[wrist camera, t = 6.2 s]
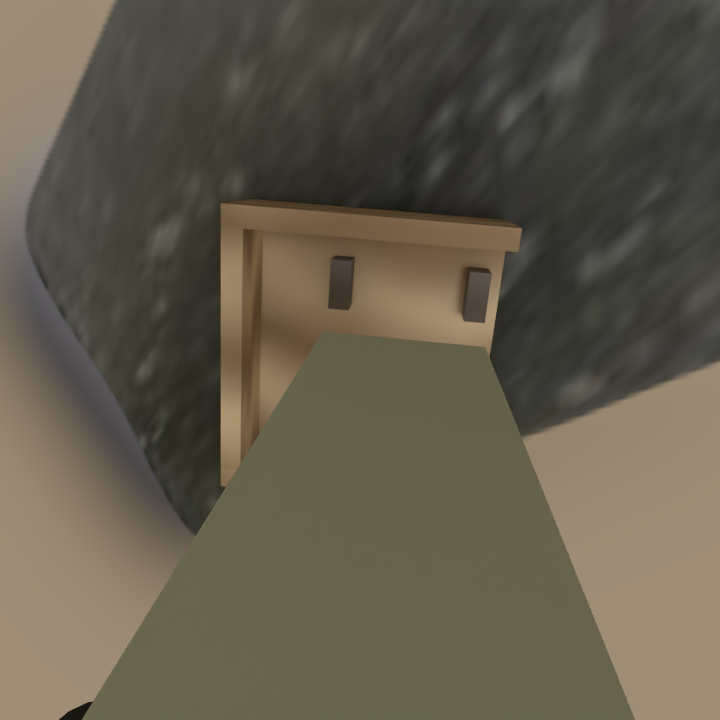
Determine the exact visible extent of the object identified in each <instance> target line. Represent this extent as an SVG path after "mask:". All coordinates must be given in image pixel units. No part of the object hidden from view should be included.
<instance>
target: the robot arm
mask: <svg viewBox="0 0 720 720" xmlns="http://www.w3.org/2000/svg"><path fill="white" fill-rule="evenodd" d="M92 703H93V702H88V703H86V704H84V705H82V706H79V707H77V708H75V709H73V710H71V711H69V712H68V713H66V714H65V715H64V716H63V717H62V718H60V719H59V720H82V719H83V717H84V715H85V714H86V712H87V711H88V709H89V707H90V706H91V704H92Z"/></svg>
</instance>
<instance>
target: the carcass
mask: <svg viewBox="0 0 720 720" xmlns="http://www.w3.org/2000/svg"><path fill="white" fill-rule="evenodd" d="M521 233H522V228H521V227H519V226H517V225H515V224H513V223H511V222H509V221H507V220H502V219H490V218H477V217H465V216H453V215H441V214H429V213H416V212H404V211H392V210H380V209H367V208H355V207H343V206H331V205H319V204H306V203H294V202H282V201H270V200H257V199H249V200H242V201H234V202H227V203H221V486H225V487H227V485H228V483H229V482H230V480H231V479H232V477H233V475H234V474H235V472H236V470H237V469H238V467H239V466H240V464H241V462H242V461H243V459H244V458H245V456H246V454H247V453H248V451H249V450H250V448H251V446H252V445H253V443H254V441H255V440H256V438H257V437H258V435H259V433H260V432H261V430H262V429H263V427H264V425H265V424H266V422H267V421H268V419H269V417H270V416H271V414H272V412H273V411H274V409H275V408H276V406H277V404H278V403H279V401H280V400H281V398H282V396H283V395H284V393H285V391H286V390H287V388H288V387H289V385H290V383H291V382H292V380H293V379H294V377H295V375H296V374H297V372H298V371H299V369H300V367H301V366H302V364H303V362H304V361H305V359H306V358H307V356H308V354H309V353H310V351H311V350H312V348H313V346H314V345H315V343H316V342H317V340H318V338H319V337H320V335H321V333H322V332H323V331H324V332H334V333H345V334H355V335H365V336H376V337H386V338H396V339H407V340H417V341H427V342H438V343H448V344H458V345H469V346H479V347H485V348H486V351H487V353H488V356H489V358H490V351H491V344H492V338H493V331H494V324H495V318H496V311H497V304H498V298H499V291H500V284H501V277H502V271H503V264H504V257H505V251H510V252H519V245H520V239H521Z"/></svg>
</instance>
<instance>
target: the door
mask: <svg viewBox="0 0 720 720" xmlns="http://www.w3.org/2000/svg"><path fill="white" fill-rule="evenodd" d="M82 720H635V719H634V716H633V714H632V711H631V709H630V706H629V704H628V701H627V699H626V696H625V694H624V691H623V689H622V686H621V684H620V682H619V679H618V676H617V674H616V671H615V669H614V667H613V664H612V662H611V659H610V657H609V654H608V652H607V649H606V647H605V644H604V642H603V639H602V637H601V634H600V632H599V629H598V627H597V624H596V622H595V619H594V617H593V614H592V612H591V609H590V607H589V605H588V602H587V599H586V597H585V594H584V592H583V589H582V587H581V584H580V582H579V580H578V577H577V575H576V573H575V570H574V567H573V565H572V562H571V560H570V557H569V555H568V552H567V550H566V547H565V545H564V542H563V540H562V537H561V535H560V533H559V530H558V527H557V525H556V522H555V520H554V517H553V515H552V513H551V510H550V507H549V505H548V502H547V500H546V498H545V495H544V492H543V490H542V488H541V485H540V483H539V480H538V478H537V475H536V473H535V470H534V468H533V465H532V463H531V460H530V458H529V455H528V453H527V450H526V448H525V445H524V443H523V440H522V438H521V435H520V433H519V430H518V428H517V425H516V423H515V420H514V418H513V415H512V413H511V410H510V408H509V405H508V403H507V401H506V398H505V396H504V393H503V391H502V388H501V386H500V383H499V381H498V378H497V376H496V373H495V371H494V368H493V366H492V363H491V361H490V358H489V356H488V353H487V351H486V348H485V347H479V346H469V345H458V344H448V343H438V342H427V341H417V340H407V339H396V338H386V337H376V336H365V335H355V334H345V333H334V332H324V331H323V332H322V333H321V335H320V337H319V338H318V340H317V342H316V343H315V345H314V346H313V348H312V350H311V351H310V353H309V354H308V356H307V358H306V359H305V361H304V362H303V364H302V366H301V367H300V369H299V371H298V372H297V374H296V375H295V377H294V379H293V380H292V382H291V383H290V385H289V387H288V388H287V390H286V391H285V393H284V395H283V396H282V398H281V400H280V401H279V403H278V404H277V406H276V408H275V409H274V411H273V412H272V414H271V416H270V417H269V419H268V421H267V422H266V424H265V425H264V427H263V429H262V430H261V432H260V433H259V435H258V437H257V438H256V440H255V441H254V443H253V445H252V446H251V448H250V450H249V451H248V453H247V454H246V456H245V458H244V459H243V461H242V462H241V464H240V466H239V467H238V469H237V470H236V472H235V474H234V475H233V477H232V479H231V480H230V482H229V483H228V485H227V487H226V488H225V490H224V491H223V493H222V495H221V496H220V498H219V499H218V501H217V503H216V504H215V506H214V508H213V509H212V511H211V512H210V514H209V516H208V517H207V519H206V520H205V522H204V524H203V525H202V527H201V528H200V530H199V532H198V533H197V535H196V537H195V538H194V540H193V542H192V543H191V545H190V546H189V548H188V549H187V551H186V553H185V554H184V556H183V558H182V559H181V561H180V563H179V564H178V566H177V567H176V569H175V570H174V572H173V574H172V575H171V577H170V578H169V580H168V582H167V583H166V585H165V587H164V588H163V590H162V591H161V593H160V595H159V596H158V598H157V600H156V601H155V603H154V604H153V606H152V608H151V609H150V611H149V612H148V614H147V616H146V617H145V619H144V620H143V622H142V624H141V625H140V627H139V628H138V630H137V632H136V633H135V635H134V637H133V638H132V640H131V642H130V643H129V645H128V646H127V648H126V650H125V651H124V653H123V654H122V656H121V657H120V659H119V661H118V662H117V664H116V666H115V667H114V669H113V670H112V672H111V674H110V675H109V677H108V679H107V680H106V682H105V683H104V685H103V686H102V688H101V690H100V691H99V693H98V695H97V696H96V698H95V700H94V701H93V703H92V704H91V706H90V707H89V709H88V711H87V712H86V714H85V715H84V717H83V719H82Z"/></svg>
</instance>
